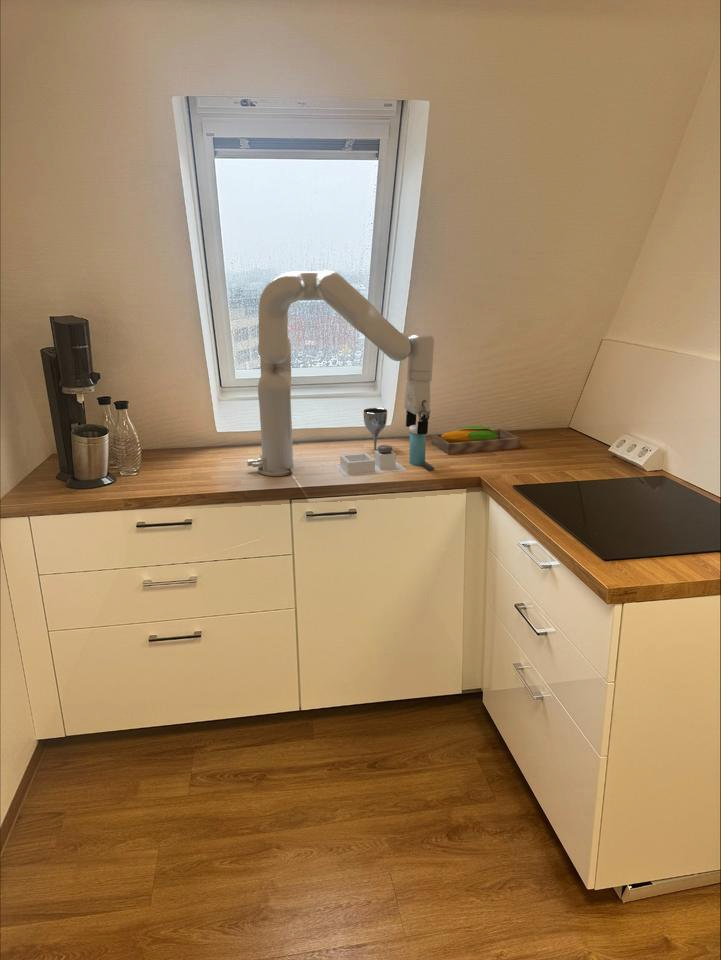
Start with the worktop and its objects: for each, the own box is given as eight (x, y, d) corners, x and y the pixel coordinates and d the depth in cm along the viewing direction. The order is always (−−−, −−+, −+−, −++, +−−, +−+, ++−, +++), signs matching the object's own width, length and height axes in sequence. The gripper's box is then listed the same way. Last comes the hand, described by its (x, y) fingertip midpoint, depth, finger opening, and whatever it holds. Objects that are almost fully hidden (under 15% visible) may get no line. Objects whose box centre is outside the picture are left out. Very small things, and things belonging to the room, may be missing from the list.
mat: (410, 472, 208) (410, 469, 208) (401, 465, 215) (401, 462, 215) (434, 470, 210) (434, 467, 210) (424, 462, 217) (424, 460, 217)
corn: (500, 428, 229) (441, 427, 230) (499, 450, 231) (441, 449, 232) (497, 424, 236) (440, 424, 238) (496, 445, 238) (439, 445, 239)
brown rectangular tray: (447, 454, 226) (448, 444, 225) (431, 443, 240) (431, 434, 238) (519, 447, 234) (520, 438, 233) (500, 437, 247) (500, 428, 246)
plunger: (380, 467, 206) (380, 449, 204) (376, 463, 210) (376, 445, 208) (393, 466, 207) (394, 448, 206) (389, 462, 211) (389, 444, 210)
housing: (343, 481, 200) (343, 461, 198) (333, 469, 211) (333, 451, 209) (406, 474, 205) (406, 456, 203) (393, 463, 216) (393, 446, 214)
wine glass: (377, 458, 222) (378, 414, 217) (358, 454, 227) (358, 411, 222) (391, 453, 228) (391, 409, 223) (372, 449, 233) (372, 406, 228)
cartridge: (412, 468, 209) (412, 429, 205) (406, 463, 214) (406, 425, 210) (428, 466, 211) (429, 428, 206) (422, 461, 215) (422, 424, 211)
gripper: (398, 371, 210) (395, 424, 215) (418, 380, 194) (415, 437, 200) (420, 370, 212) (417, 423, 217) (442, 380, 196) (438, 436, 202)
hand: (416, 430), depth 209 cm, fingers open, 9 cm apart
